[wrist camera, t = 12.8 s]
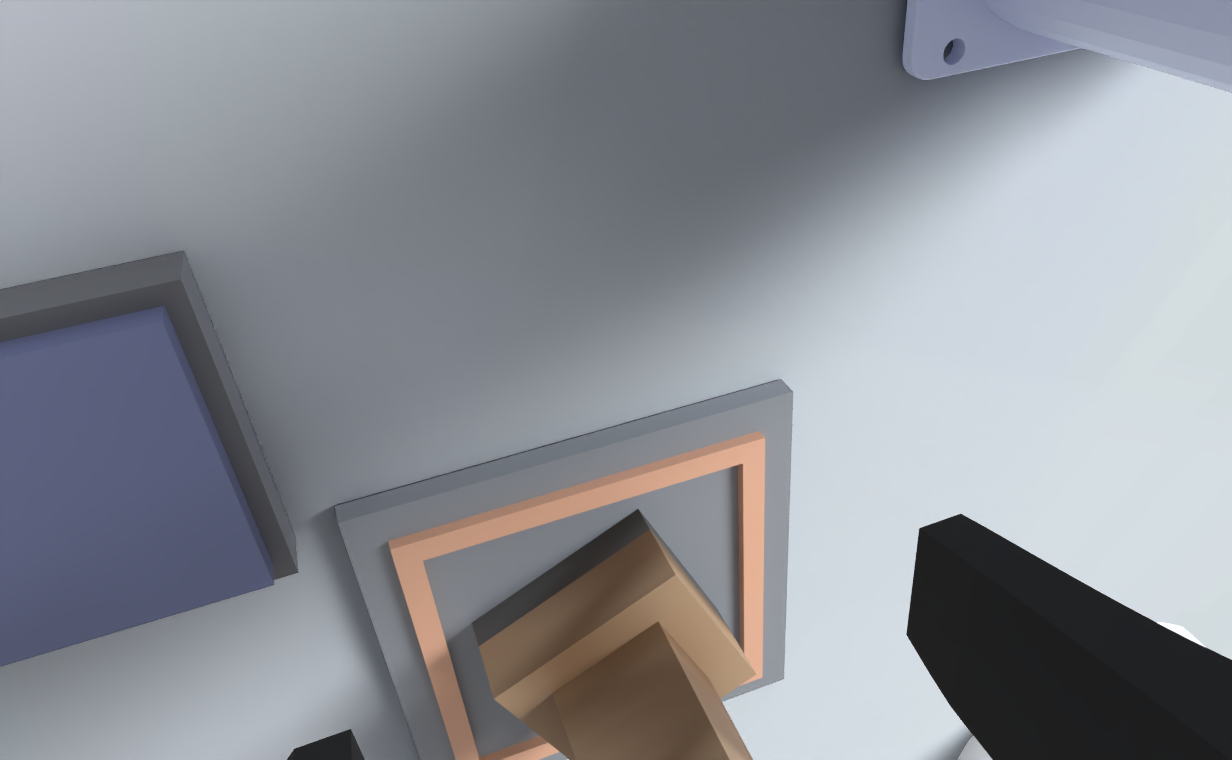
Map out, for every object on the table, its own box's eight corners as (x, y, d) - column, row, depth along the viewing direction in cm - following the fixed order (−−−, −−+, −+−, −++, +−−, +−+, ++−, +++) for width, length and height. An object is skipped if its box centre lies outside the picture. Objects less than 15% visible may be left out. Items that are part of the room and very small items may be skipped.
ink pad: (183, 250, 16) (179, 294, 15) (295, 535, 20) (299, 592, 19) (-274, 347, 15) (-330, 407, 13) (-56, 636, 19) (-80, 707, 17)
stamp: (638, 508, 22) (809, 809, 16) (717, 608, 25) (888, 896, 19) (471, 622, 23) (572, 969, 16) (570, 708, 26) (689, 1030, 19)
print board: (781, 379, 23) (799, 398, 22) (774, 664, 29) (788, 686, 28) (334, 505, 20) (338, 532, 19) (433, 788, 26) (438, 816, 26)
